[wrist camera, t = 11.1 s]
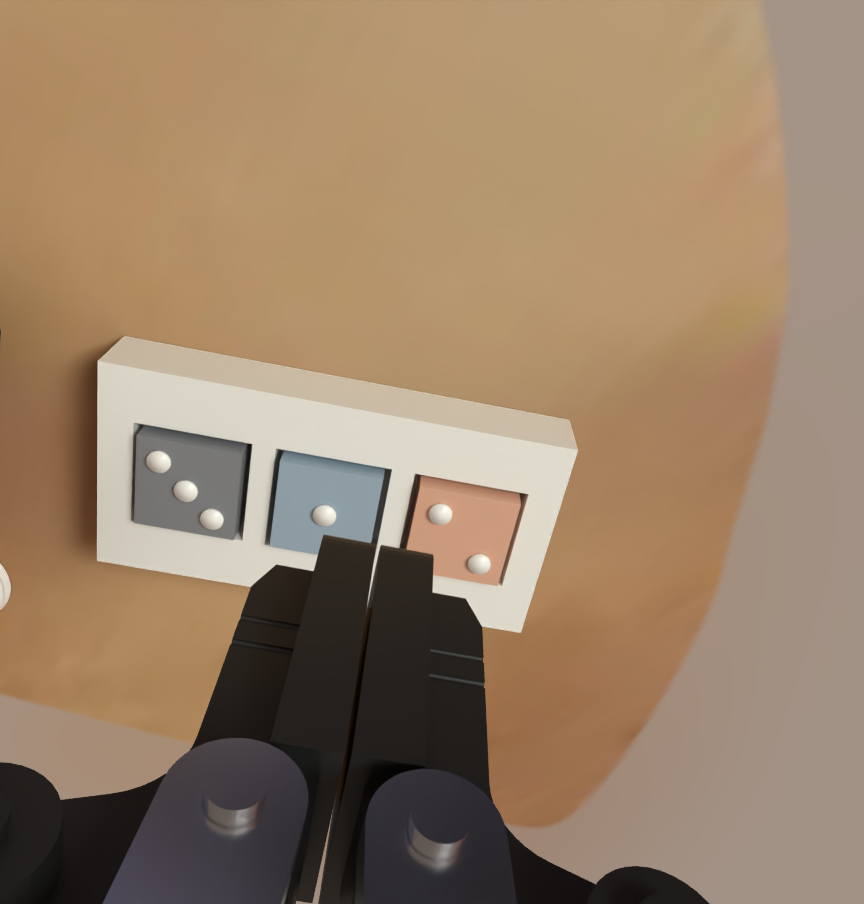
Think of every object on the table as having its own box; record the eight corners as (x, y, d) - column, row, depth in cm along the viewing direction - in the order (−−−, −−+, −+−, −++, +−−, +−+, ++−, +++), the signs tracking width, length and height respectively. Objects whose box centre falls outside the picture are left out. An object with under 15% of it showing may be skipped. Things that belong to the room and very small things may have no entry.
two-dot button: (405, 538, 39) (402, 572, 37) (422, 458, 37) (420, 489, 35) (495, 554, 39) (497, 588, 37) (517, 476, 37) (521, 507, 35)
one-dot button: (280, 516, 39) (268, 549, 36) (290, 434, 37) (278, 463, 34) (372, 532, 39) (366, 566, 37) (387, 452, 37) (382, 482, 34)
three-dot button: (152, 494, 38) (132, 525, 36) (155, 410, 36) (134, 437, 34) (246, 510, 39) (232, 543, 36) (254, 428, 36) (241, 456, 34)
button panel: (120, 525, 40) (96, 560, 38) (124, 335, 36) (97, 361, 33) (516, 593, 42) (520, 632, 39) (569, 419, 37) (577, 450, 34)
